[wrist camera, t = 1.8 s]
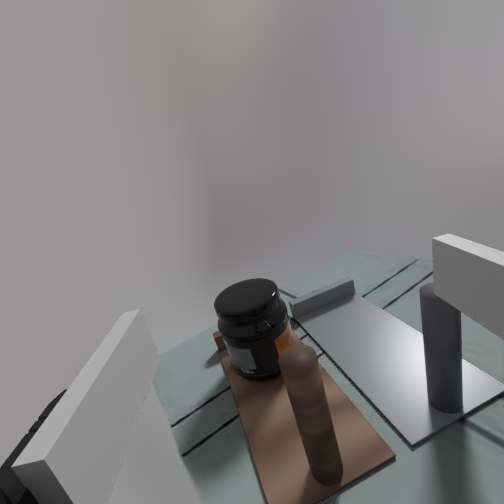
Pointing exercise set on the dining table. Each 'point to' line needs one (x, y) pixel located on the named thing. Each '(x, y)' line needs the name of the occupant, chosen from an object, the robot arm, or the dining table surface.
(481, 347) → the dining table surface
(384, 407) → the grey l-shaped stand
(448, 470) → the dining table surface
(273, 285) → the supplement container
